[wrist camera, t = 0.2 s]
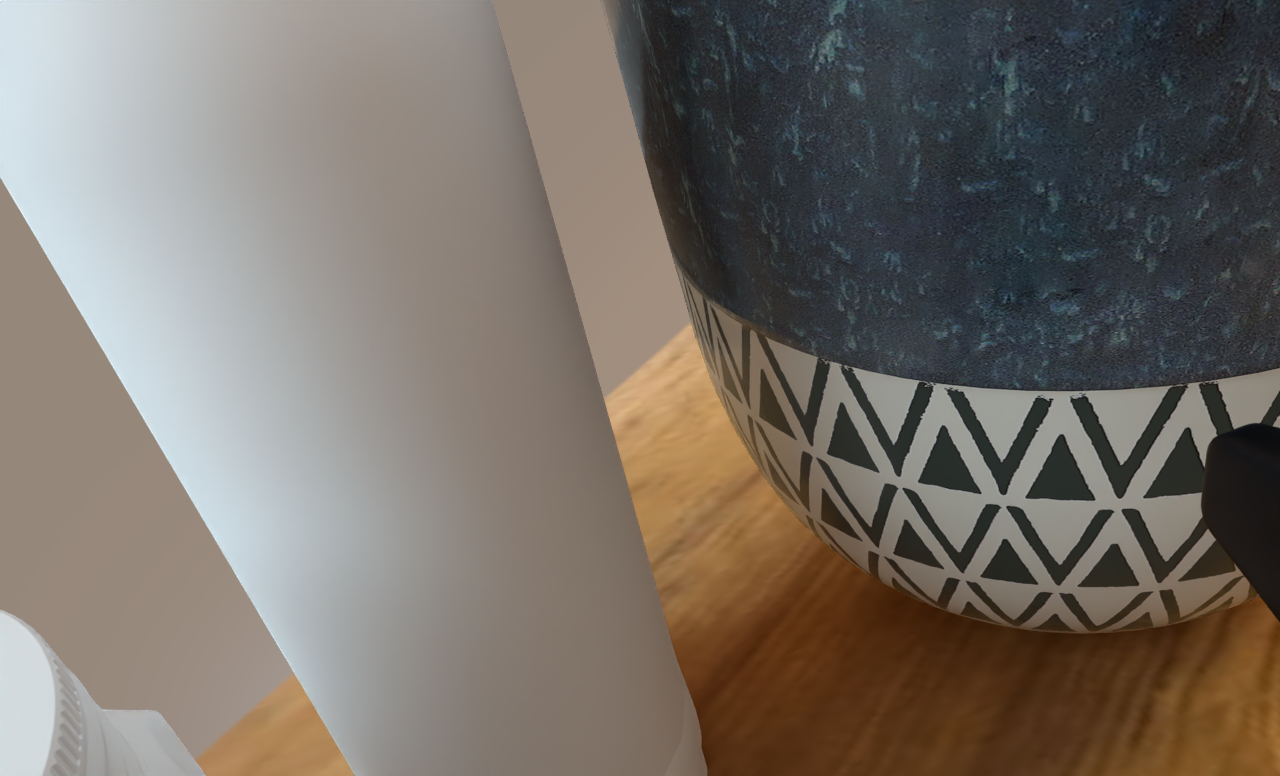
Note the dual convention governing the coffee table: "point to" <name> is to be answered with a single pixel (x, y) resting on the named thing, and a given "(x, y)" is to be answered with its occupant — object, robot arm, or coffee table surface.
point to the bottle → (358, 362)
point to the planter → (980, 278)
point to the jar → (73, 720)
